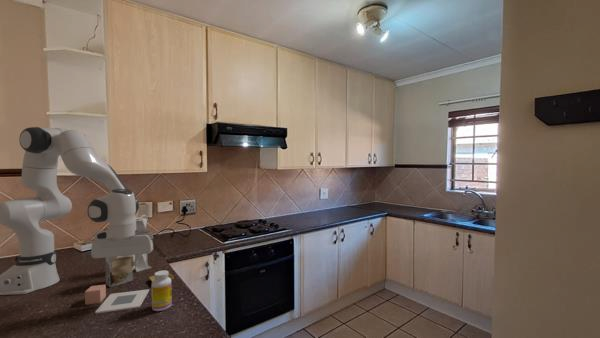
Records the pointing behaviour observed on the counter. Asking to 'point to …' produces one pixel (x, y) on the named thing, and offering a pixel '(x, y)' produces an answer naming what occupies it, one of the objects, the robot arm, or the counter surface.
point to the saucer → (168, 276)
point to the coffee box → (116, 276)
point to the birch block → (123, 264)
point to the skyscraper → (143, 260)
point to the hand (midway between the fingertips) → (123, 266)
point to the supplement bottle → (161, 291)
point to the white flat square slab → (123, 301)
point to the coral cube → (95, 294)
